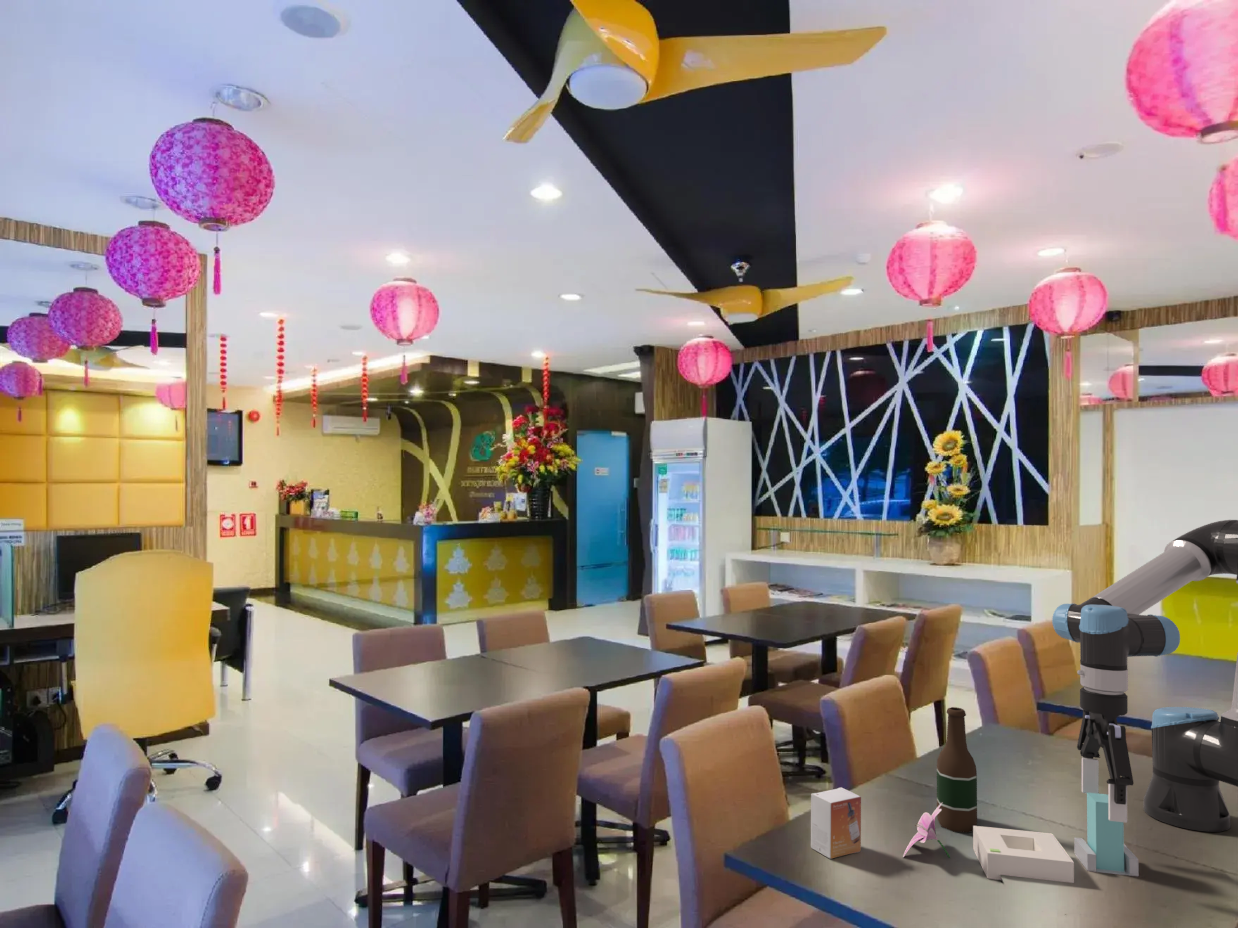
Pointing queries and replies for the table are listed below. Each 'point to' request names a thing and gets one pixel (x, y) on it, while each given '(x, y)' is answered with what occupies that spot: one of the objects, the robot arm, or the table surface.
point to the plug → (1104, 834)
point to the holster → (1089, 859)
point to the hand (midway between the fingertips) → (1103, 806)
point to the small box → (836, 822)
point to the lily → (926, 829)
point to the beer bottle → (956, 778)
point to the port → (1021, 854)
